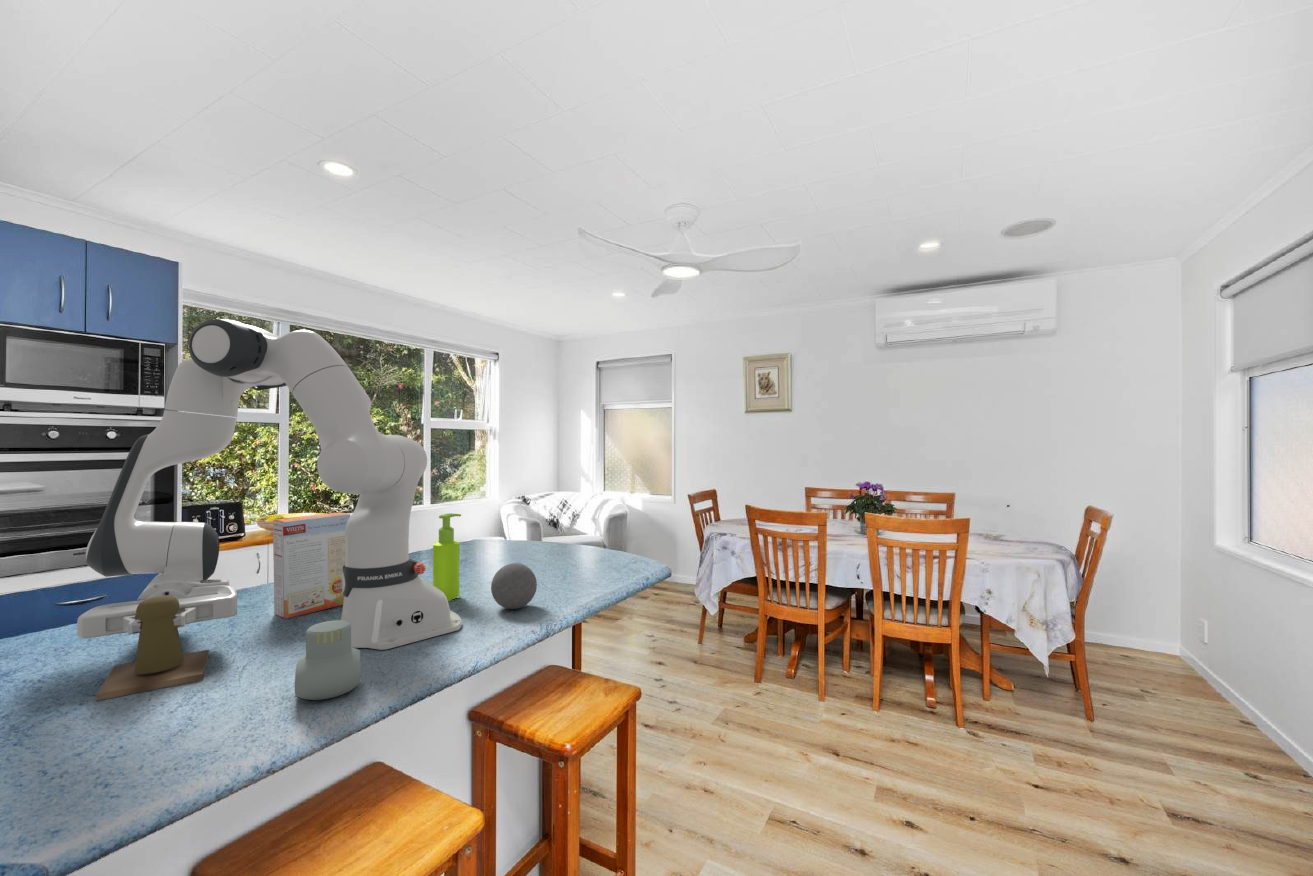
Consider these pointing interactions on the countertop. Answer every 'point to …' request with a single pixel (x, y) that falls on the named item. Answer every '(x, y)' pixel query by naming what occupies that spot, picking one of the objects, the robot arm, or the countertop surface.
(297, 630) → the countertop surface
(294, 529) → the cracker box
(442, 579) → the soap dispenser
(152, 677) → the walnut board
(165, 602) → the cork
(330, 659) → the air freshener
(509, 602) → the decorative ball
